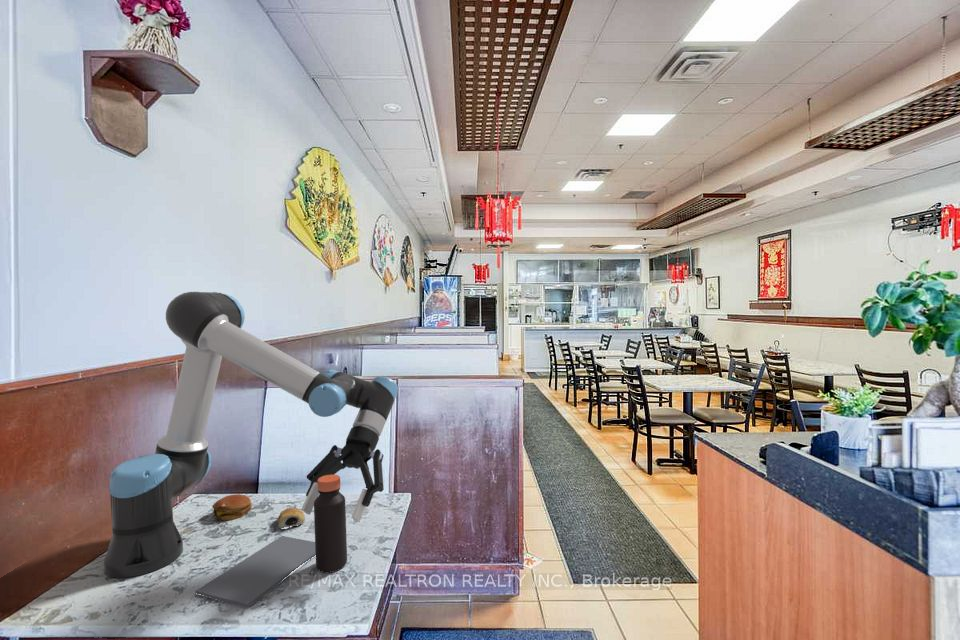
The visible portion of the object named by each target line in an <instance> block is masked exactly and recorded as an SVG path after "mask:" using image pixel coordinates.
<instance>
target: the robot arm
mask: <svg viewBox="0 0 960 640" xmlns="http://www.w3.org/2000/svg"><path fill="white" fill-rule="evenodd" d="M244 310H245V309H244V308H243V306H242V305H241V303H240V301H239V300H237V299H236V298H235V297H233V296H231V295H229V294H226V293H222V292H216V291H213V292H212V291H211V292H208V291H205V292H203V291H187V292H183V293H181V294H179V295H177V296H175V297H174V298H173V299H172V300H171V301H170V302H169V304H168V306H167V307H166V312H165V321H166V324H167V326H168V328H169V330H170V331H171V332H172V333H173V334H174V335H175V336H176V337H178V338H179V339H180V340H181V342H182V343H183V344H184V345H185V351H184V356H183V359H182V365H181V368H180V374H179V376H178V377H179V378H178V382H177V386H176V390H175V395H174V400H173V404H172V409H171V413H170V417H169V421H168V426H167V431H166V433H165V435H163V437H161V438H159V439H158V440H157V443H156V447H155V451H154V453H151V454H145V455H144V454H143V455H139V456H137V457H135V458H130V459H128V460H126V461H124V462H122V463H120V464H119V465H117V466H116V467H115V468H114V469H113V470H112V472H111V474H110V476H109V486H108V492H109V495H110V512H111V513H110V514H111V531H112V532H111V533H112V536H111V538H110V542H109V545H108V547H107V551H106V555H105V557H104V560H103V572H104V574H105V575H106V576H108V577H110V578H116V579H118V578H119V579H121V578H122V579H124V578H132V577H136V576H137V577H138V576H141V575H144V574H148V573H151V572H154V571H157V570H159V569H162V568H164V567H166V566H168V565H169V564H171V563H173V562H174V561H175V560H177V559H178V558H179V557H181V555H182V554H183V551H184V542H183V538H182V537H181V533H180V532H179V529H178V528H177V526H176V523H175V521H174V514H173V513H174V511H173V508H174V507H173V501H174V500H176V499H177V498H179V497H180V496H181V495H183V494H185V493H186V492H187V491H189V490H190V489H193V488H194V487H196V486H197V485H198V484H199V483H200V482H202V481H203V480H204V478H205V477H206V476H207V475H208V473H209V472H210V469H211V466H212V455H211V453H210V452H209V449H208V448H209V442H208V440H207V439H205V434H206V429H207V424H208V421H209V417H210V416H209V415H210V411H211V407H212V402H213V399H214V395H215V394H214V393H215V390H216V385H217V382H218V376H219V372H220V369H221V365H222V360H223V358H224V359H226V360H228V361H229V362H231V363H234V364H236V365H238V366H239V367H240V368H243V369H245V370H246V371H248V372H249V373H252V374H253V375H255V376H257V377H259V378H260V379H263V380H265V381H266V382H268V383H271V384H272V385H273V386H275V387H277V388H279V389H281V390H283V391H285V392H286V393H288V394H290V395H292V396H294V397H295V398H297V399H298V400H299V399H300V400H301V401H303V402H305V403H306V404H308V406H309V408H310V410H311V411H312V412H313V414H314V415H316V416H318V417H322V418H328V417H331V416H333V415H335V414H338V413H339V412H341V411H342V410H343V409H344V408H345V406H346V405H348V406H351V407H354V408H357V409H359V411H358V413H357V414H356V416H355V419H354V421H353V423H352V427H351V428H350V430H349V432H348V435H347V437H346V439H345V445H344V446H343V447H338V446H337V444H334V445H332V446H331V449H330V450H329V452H328V453H327V454H326V455H325V456H324V457H323V458H322V459H321V460H320V462H318V464H317V465H316V466H315V467H314V468H313V469H311V470H310V471H309V473H307V475H306V479H307V481H310V485H309V487H308V489H307V491H306V493H305V498H306V499H305V500H304V503H303V505H302V507H301V509H300V510H301V511H302V512H303V513H305V514H307V515H311V513H312V510H314V501H315V500H316V498H317V497H318V496H319V492H318V481H317V480H318V479H319V478H320V477H322V476H325V475H336V474H337V473H338V472H339V471H341V470H344V469H345V468H349V469H351V468H354V469H356V470H359V469H360V472H361V475H362V478H363V481H364V484H365V488H361V489H362V490H361V493H360V495H359V497H358V499H357V502H356V505H355V508H354V510H353V513H352V515H351V519H353V520H354V521H355V522H356V523H361V520H362V518H363V515H364V512H365V510H366V508H368V507H369V506H370V505H371V503H372V498H373V497H374V495H375V494H376V493H378V492H380V493H382V492H383V491H384V475H383V464H382V463H383V460H384V454H383V452H382V451H381V450H380V449H376V447H377V445H378V444H379V439H380V436H381V434H382V432H383V429H384V427H385V425H386V423H387V421H388V420H387V419H388V417H389V415H390V413H391V410H392V408H393V407H394V406H393V405H394V404H395V400H396V398H397V395H398V391H399V387H398V384H397V383H396V382H395V381H394V380H393V379H392V378H390V377H387V376H381V375H378V376H376V377H373V379H372V381H369V380H364V379H362V378H359V377H356V376H354V375H351V374H348V373H345V372H344V371H342V370H335V369H328V370H327V371H326V372H325V373H324V374H322V373H321V372H320V371H318V370H315V369H314V368H312V367H311V366H309V365H307V364H305V363H304V362H302V361H300V360H298V359H297V358H294V357H292V356H291V355H289V354H287V353H286V352H284V351H281V350H280V349H278V348H277V347H276V346H275V347H274V346H272V345H271V344H269V343H267V342H266V341H264V340H262V339H261V338H259V337H257V336H255V335H253V334H251V333H250V332H248V331H246V330H244V329H242V328H243V325H244V323H245V318H246V317H245V311H244ZM371 459H372V465H373V467H372V469H373V478H372V474H371V472H370V467H369V465H368V464H369V463H368V461H370V460H371ZM373 480H374V481H373Z"/></svg>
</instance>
